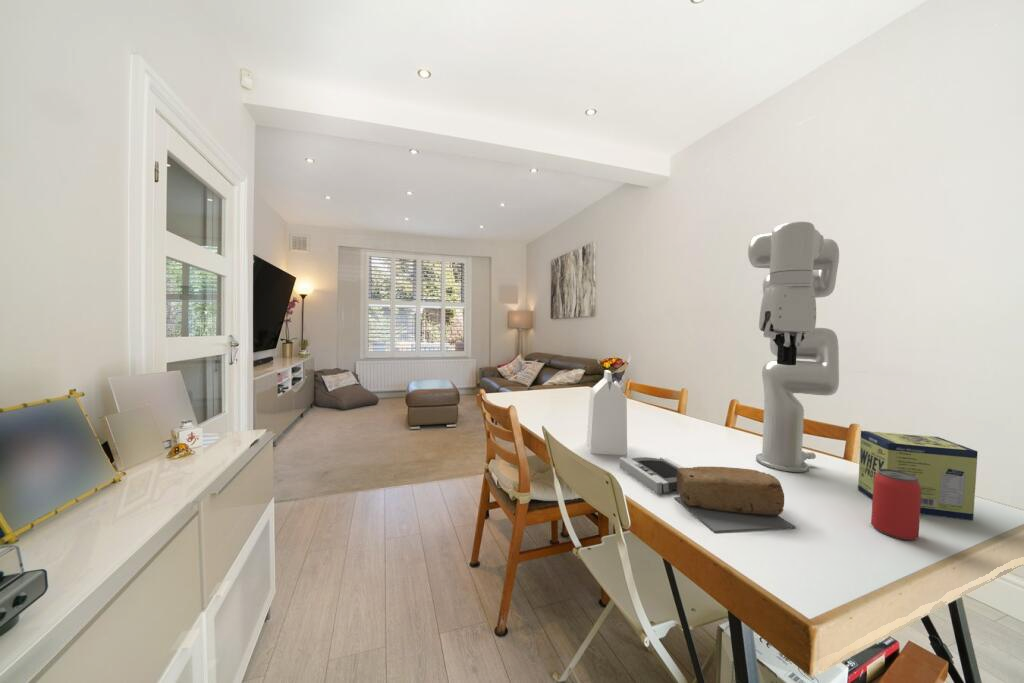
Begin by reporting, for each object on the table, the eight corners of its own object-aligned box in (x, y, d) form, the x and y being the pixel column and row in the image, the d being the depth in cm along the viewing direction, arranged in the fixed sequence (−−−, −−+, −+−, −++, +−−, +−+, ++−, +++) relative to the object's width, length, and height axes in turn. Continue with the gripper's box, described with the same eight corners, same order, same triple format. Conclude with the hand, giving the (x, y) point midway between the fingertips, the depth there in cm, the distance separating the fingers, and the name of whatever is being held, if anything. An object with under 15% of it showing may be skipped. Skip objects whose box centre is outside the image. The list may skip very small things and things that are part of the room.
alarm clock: (619, 457, 103) (667, 449, 107) (620, 473, 104) (668, 464, 108) (657, 483, 87) (712, 472, 91) (657, 501, 87) (713, 489, 91)
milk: (586, 441, 127) (588, 368, 126) (619, 443, 126) (621, 369, 125) (590, 453, 115) (592, 373, 114) (627, 455, 114) (629, 374, 113)
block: (788, 485, 74) (684, 478, 79) (787, 521, 75) (683, 511, 79) (764, 465, 85) (673, 459, 89) (763, 496, 85) (673, 489, 90)
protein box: (855, 489, 91) (859, 429, 91) (935, 499, 87) (939, 436, 86) (883, 509, 82) (887, 442, 81) (975, 521, 77) (980, 450, 76)
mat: (743, 495, 87) (743, 494, 87) (795, 528, 73) (795, 526, 73) (674, 498, 85) (674, 497, 85) (714, 532, 71) (714, 530, 71)
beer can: (861, 522, 76) (864, 467, 75) (893, 523, 75) (897, 467, 75) (893, 541, 69) (897, 480, 68) (929, 542, 69) (933, 481, 68)
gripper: (805, 284, 83) (801, 362, 84) (745, 282, 81) (742, 362, 82) (837, 280, 75) (833, 366, 76) (773, 278, 74) (769, 366, 75)
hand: (786, 364), depth 79 cm, fingers closed
